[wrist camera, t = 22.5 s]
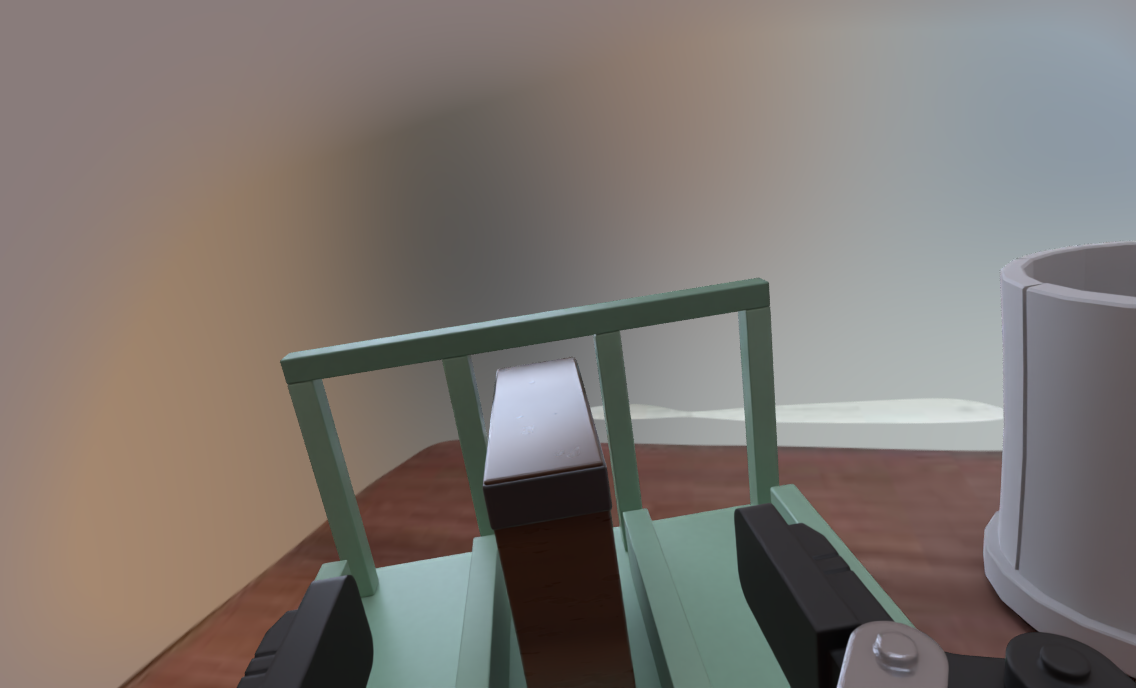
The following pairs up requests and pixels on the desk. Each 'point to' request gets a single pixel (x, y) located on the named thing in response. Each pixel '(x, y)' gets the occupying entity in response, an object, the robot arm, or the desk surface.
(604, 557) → the dark brown rectangular block
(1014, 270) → the cup
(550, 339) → the rack
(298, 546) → the desk surface
